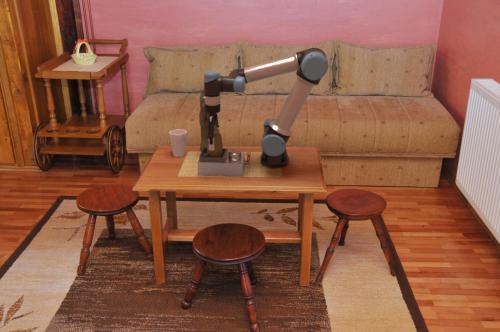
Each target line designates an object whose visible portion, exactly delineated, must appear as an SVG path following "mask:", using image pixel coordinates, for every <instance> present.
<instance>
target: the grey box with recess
mask: <svg viewBox="0 0 500 332" xmlns="http://www.w3.org/2000/svg"><path fill="white" fill-rule="evenodd" d="M245 168H246V153H245V152H242V151H241V150H237V149H232V150H229V148H224V147H223V152H222V155H221V157H209V155H208V152H207V148H203V150H202V152H201V151H200V153H199V157H198V161H197V175H198V176H211V177H212V176H213V177H232V178H233V177H237V178H238V177H239V178H242V177H243V176H244V172H245Z"/></svg>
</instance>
